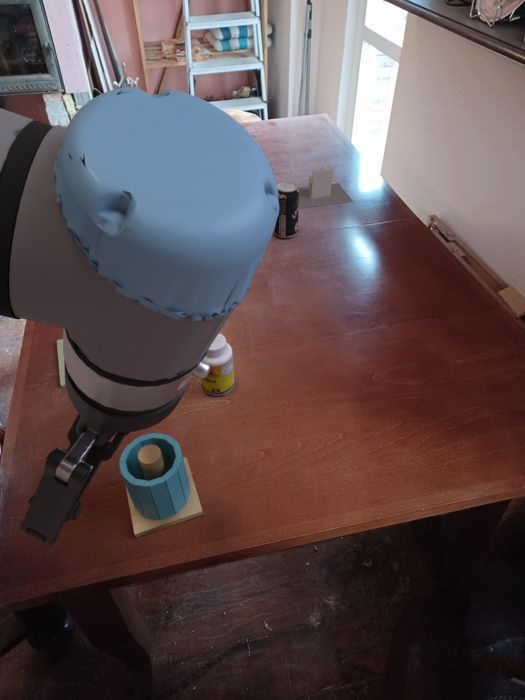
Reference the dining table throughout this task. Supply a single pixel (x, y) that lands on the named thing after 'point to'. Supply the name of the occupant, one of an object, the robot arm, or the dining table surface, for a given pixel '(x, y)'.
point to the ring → (162, 492)
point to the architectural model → (322, 190)
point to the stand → (154, 469)
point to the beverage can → (287, 210)
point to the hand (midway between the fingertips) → (108, 445)
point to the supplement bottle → (219, 368)
